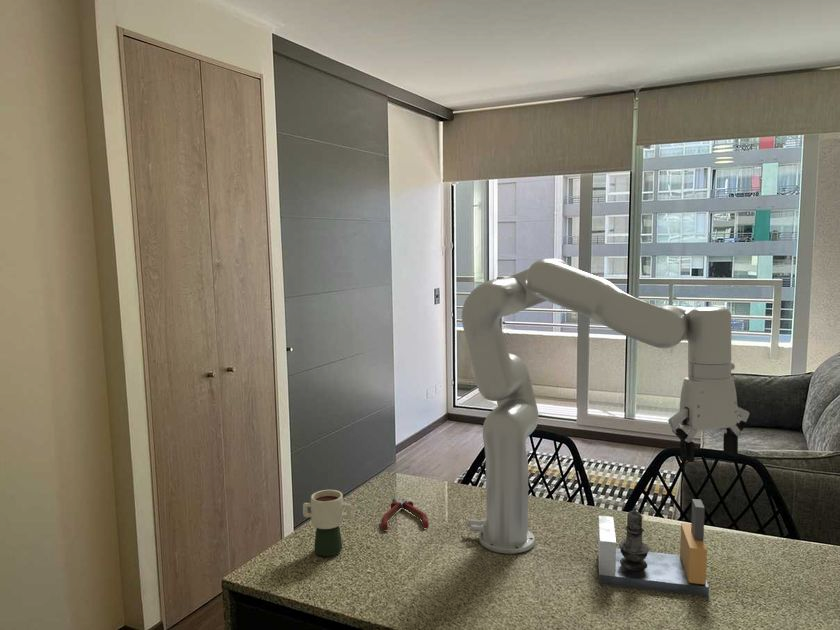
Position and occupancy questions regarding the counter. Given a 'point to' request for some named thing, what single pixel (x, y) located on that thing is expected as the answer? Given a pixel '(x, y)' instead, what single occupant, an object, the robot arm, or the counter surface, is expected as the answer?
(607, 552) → the vise
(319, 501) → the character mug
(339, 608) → the counter surface
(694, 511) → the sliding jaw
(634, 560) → the dark grey chess piece
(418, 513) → the pliers
